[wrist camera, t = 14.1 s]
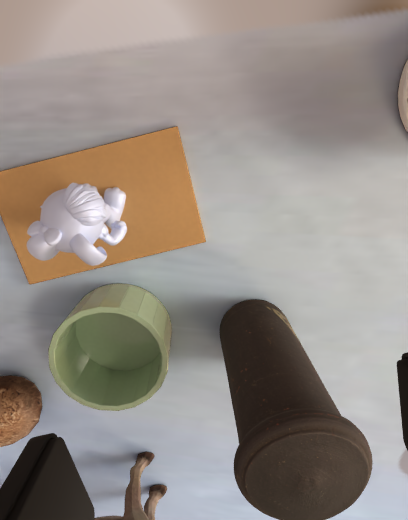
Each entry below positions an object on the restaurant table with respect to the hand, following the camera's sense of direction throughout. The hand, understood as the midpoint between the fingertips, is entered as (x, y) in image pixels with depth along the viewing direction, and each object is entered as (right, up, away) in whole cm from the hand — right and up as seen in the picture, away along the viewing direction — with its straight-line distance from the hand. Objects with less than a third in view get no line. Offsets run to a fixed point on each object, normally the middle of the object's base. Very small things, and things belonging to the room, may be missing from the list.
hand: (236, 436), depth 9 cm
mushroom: (-24, -11, +32) cm, 42 cm away
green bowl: (-10, -3, +30) cm, 32 cm away
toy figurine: (-12, +10, +26) cm, 30 cm away
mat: (-12, +10, +26) cm, 30 cm away
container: (+5, -4, +31) cm, 31 cm away
